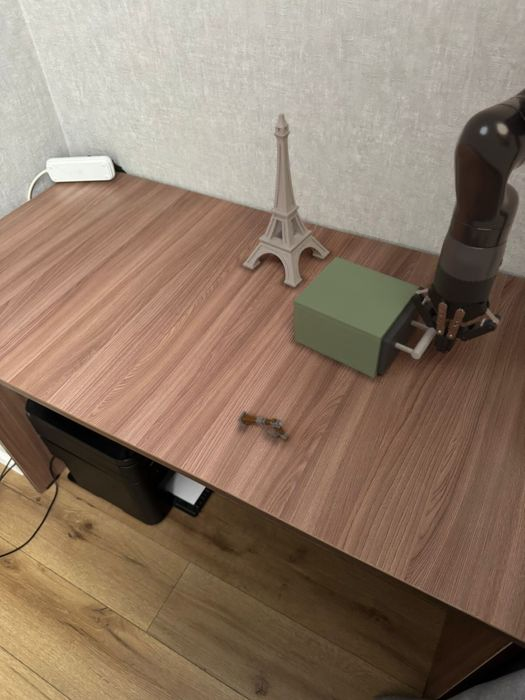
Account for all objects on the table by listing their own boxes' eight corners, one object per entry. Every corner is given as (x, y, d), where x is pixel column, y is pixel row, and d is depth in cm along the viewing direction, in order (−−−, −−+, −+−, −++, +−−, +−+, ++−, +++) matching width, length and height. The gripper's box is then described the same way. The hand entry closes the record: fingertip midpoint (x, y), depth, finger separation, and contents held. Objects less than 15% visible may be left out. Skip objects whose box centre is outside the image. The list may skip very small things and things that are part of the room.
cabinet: (409, 328, 87) (419, 286, 80) (374, 378, 80) (380, 337, 73) (333, 297, 94) (335, 256, 87) (294, 341, 87) (293, 300, 80)
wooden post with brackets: (289, 445, 72) (277, 424, 69) (249, 437, 77) (236, 418, 74) (295, 435, 73) (283, 415, 70) (255, 428, 78) (242, 409, 75)
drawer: (439, 338, 84) (449, 305, 78) (407, 387, 77) (416, 354, 71) (343, 299, 92) (345, 266, 86) (307, 340, 86) (307, 307, 80)
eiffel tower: (242, 265, 103) (225, 121, 80) (278, 234, 109) (272, 93, 87) (294, 287, 97) (291, 138, 74) (329, 252, 103) (336, 107, 81)
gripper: (409, 259, 65) (393, 347, 77) (511, 294, 59) (475, 382, 72) (432, 231, 68) (413, 319, 81) (530, 261, 63) (492, 350, 76)
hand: (442, 348), depth 76 cm, fingers closed
